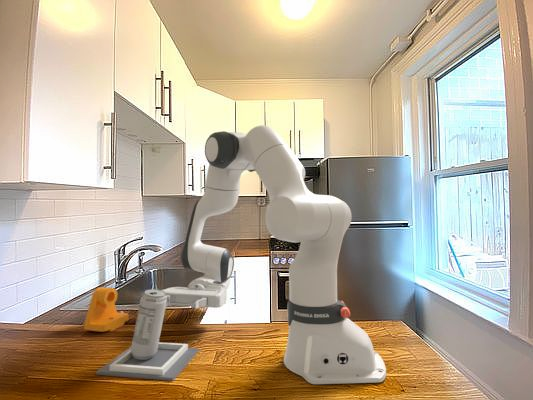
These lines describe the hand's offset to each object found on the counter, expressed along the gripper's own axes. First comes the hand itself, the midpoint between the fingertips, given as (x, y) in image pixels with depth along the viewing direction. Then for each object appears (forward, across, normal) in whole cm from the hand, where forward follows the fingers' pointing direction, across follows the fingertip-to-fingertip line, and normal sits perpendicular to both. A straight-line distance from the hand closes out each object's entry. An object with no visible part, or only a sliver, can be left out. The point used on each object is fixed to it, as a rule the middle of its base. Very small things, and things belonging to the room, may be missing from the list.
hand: (178, 304), depth 83 cm
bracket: (-5, -27, +10) cm, 30 cm away
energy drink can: (+11, -3, +9) cm, 15 cm away
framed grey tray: (+12, 0, +10) cm, 15 cm away
